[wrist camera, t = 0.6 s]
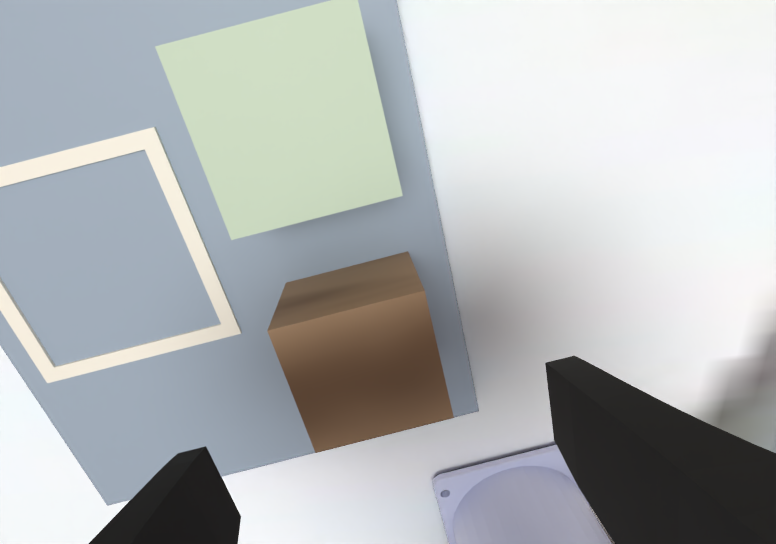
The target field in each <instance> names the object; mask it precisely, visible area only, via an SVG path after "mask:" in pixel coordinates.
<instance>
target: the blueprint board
mask: <svg viewBox="0 0 776 544" xmlns="http://www.w3.org/2000/svg"><path fill="white" fill-rule="evenodd" d="M326 1H330V0H0V346H1V347H2V349H3V350H4V352H5V353H6V355H7V356H8V358H9V359H10V361H11V362H12V364H13V365H14V367H15V368H16V370H17V371H18V373H19V374H20V376H21V377H22V379H23V380H24V381H25V383H26V384H27V386H28V387H29V389H30V390H31V392H32V393H33V395H34V396H35V398H36V399H37V401H38V402H39V404H40V405H41V407H42V408H43V410H44V411H45V413H46V414H47V416H48V417H49V419H50V420H51V422H52V423H53V425H54V426H55V428H56V429H57V431H58V432H59V434H60V435H61V437H62V438H63V440H64V441H65V443H66V444H67V446H68V447H69V449H70V450H71V452H72V453H73V455H74V456H75V458H76V459H77V461H78V462H79V464H80V465H81V467H82V468H83V470H84V471H85V473H86V474H87V476H88V477H89V479H90V480H91V482H92V483H93V485H94V486H95V488H96V489H97V491H98V492H99V494H100V495H101V497H102V498H103V500H104V501H105V503H106V504H107V506H108V505H112V504H116V503H120V502H123V501H127V500H131V499H132V498H133V497H134V496H135V495H136V494H137V493H138V492H139V491H140V490H141V489H142V488H143V487H144V486H145V485H146V484H147V483H148V482H149V481H150V480H151V479H152V478H153V477H154V475H155V474H156V473H157V472H158V471H159V470H160V469H161V468H162V467H164V466H165V465H166V464H167V463H168V462H169V461H170V460H171V459H172V458H173V457H174V456H175V455H176V454H177V453H181V452H185V451H189V450H193V449H197V448H201V447H205V446H206V447H207V449H208V451H209V453H210V455H211V457H212V459H213V461H214V463H215V465H216V467H217V469H218V471H219V473H220V475H221V477H222V476H226V475H229V474H233V473H237V472H241V471H245V470H249V469H253V468H257V467H261V466H265V465H269V464H273V463H277V462H281V461H284V460H288V459H292V458H296V457H300V456H304V455H308V454H312V453H315V451H314V448H313V446H312V443H311V440H310V438H309V435H308V433H307V430H306V428H305V425H304V423H303V420H302V418H301V415H300V413H299V410H298V408H297V405H296V402H295V400H294V397H293V395H292V392H291V390H290V387H289V385H288V382H287V380H286V377H285V375H284V372H283V370H282V367H281V364H280V362H279V359H278V357H277V354H276V352H275V349H274V347H273V344H272V342H271V339H270V337H269V334H268V332H267V330H268V328H269V325H270V323H271V320H272V317H273V315H274V312H275V310H276V307H277V304H278V302H279V299H280V297H281V294H282V291H283V289H284V286H285V284H286V283H287V282H291V281H294V280H298V279H302V278H306V277H310V276H314V275H318V274H322V273H326V272H329V271H333V270H337V269H341V268H345V267H349V266H353V265H357V264H360V263H364V262H368V261H372V260H376V259H380V258H384V257H388V256H391V255H395V254H399V253H403V252H407V251H408V252H409V255H410V257H411V259H412V262H413V264H414V266H415V269H416V271H417V273H418V276H419V278H420V281H421V283H422V285H423V288H424V290H425V294H426V298H427V303H428V307H429V311H430V316H431V320H432V324H433V329H434V333H435V338H436V342H437V346H438V351H439V355H440V359H441V364H442V368H443V372H444V377H445V381H446V385H447V390H448V394H449V398H450V403H451V407H452V411H453V416H454V417H457V416H461V415H465V414H469V413H473V412H477V411H479V409H478V404H477V399H476V394H475V389H474V384H473V379H472V374H471V369H470V364H469V359H468V354H467V349H466V344H465V339H464V334H463V329H462V324H461V319H460V314H459V309H458V304H457V299H456V294H455V289H454V284H453V280H452V275H451V270H450V265H449V260H448V255H447V250H446V245H445V240H444V235H443V230H442V225H441V220H440V215H439V210H438V205H437V200H436V195H435V190H434V185H433V180H432V175H431V170H430V165H429V160H428V155H427V150H426V145H425V141H424V136H423V131H422V126H421V121H420V116H419V111H418V106H417V101H416V96H415V91H414V86H413V81H412V76H411V71H410V66H409V61H408V56H407V51H406V46H405V41H404V36H403V31H402V26H401V21H400V16H399V11H398V6H397V2H396V0H358V3H359V7H360V11H361V16H362V20H363V24H364V29H365V33H366V38H367V42H368V46H369V51H370V55H371V59H372V64H373V68H374V72H375V77H376V81H377V85H378V90H379V94H380V98H381V103H382V107H383V111H384V116H385V120H386V124H387V129H388V133H389V138H390V142H391V146H392V151H393V155H394V159H395V164H396V168H397V172H398V177H399V181H400V185H401V190H402V194H403V196H400V197H397V198H393V199H389V200H385V201H381V202H377V203H373V204H370V205H366V206H362V207H358V208H354V209H350V210H346V211H342V212H339V213H335V214H331V215H327V216H323V217H319V218H315V219H312V220H308V221H304V222H300V223H296V224H292V225H288V226H284V227H281V228H277V229H273V230H269V231H265V232H261V233H257V234H254V235H250V236H246V237H242V238H238V239H234V240H231V238H230V235H229V233H228V230H227V228H226V225H225V223H224V220H223V218H222V215H221V213H220V210H219V207H218V205H217V202H216V200H215V197H214V195H213V192H212V190H211V187H210V185H209V182H208V180H207V177H206V175H205V172H204V169H203V167H202V164H201V162H200V159H199V157H198V154H197V152H196V149H195V147H194V144H193V142H192V139H191V137H190V134H189V132H188V129H187V126H186V124H185V121H184V119H183V116H182V114H181V111H180V109H179V106H178V104H177V101H176V99H175V96H174V94H173V91H172V88H171V86H170V83H169V81H168V78H167V76H166V73H165V71H164V68H163V66H162V63H161V61H160V58H159V56H158V53H157V50H156V48H155V46H159V45H162V44H166V43H170V42H174V41H178V40H181V39H185V38H189V37H193V36H197V35H200V34H204V33H208V32H212V31H216V30H220V29H223V28H227V27H231V26H235V25H239V24H242V23H246V22H250V21H254V20H258V19H261V18H265V17H269V16H273V15H277V14H281V13H284V12H288V11H292V10H296V9H300V8H303V7H307V6H311V5H315V4H319V3H322V2H326Z"/></svg>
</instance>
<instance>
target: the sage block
mask: <svg viewBox="0 0 776 544" xmlns="http://www.w3.org/2000/svg"><path fill="white" fill-rule="evenodd" d="M155 48H156V50H157V53H158V56H159V58H160V61H161V63H162V66H163V68H164V71H165V73H166V76H167V78H168V81H169V83H170V86H171V88H172V91H173V94H174V96H175V99H176V101H177V104H178V106H179V109H180V111H181V114H182V116H183V119H184V121H185V124H186V126H187V129H188V132H189V134H190V137H191V139H192V142H193V144H194V147H195V149H196V152H197V154H198V157H199V159H200V162H201V164H202V167H203V169H204V172H205V175H206V177H207V180H208V182H209V185H210V187H211V190H212V192H213V195H214V197H215V200H216V202H217V205H218V207H219V210H220V213H221V215H222V218H223V220H224V223H225V225H226V228H227V230H228V233H229V235H230V238H231V240H234V239H238V238H242V237H246V236H250V235H254V234H257V233H261V232H265V231H269V230H273V229H277V228H281V227H284V226H288V225H292V224H296V223H300V222H304V221H308V220H312V219H315V218H319V217H323V216H327V215H331V214H335V213H339V212H342V211H346V210H350V209H354V208H358V207H362V206H366V205H370V204H373V203H377V202H381V201H385V200H389V199H393V198H397V197H400V196H403V194H402V190H401V185H400V181H399V177H398V172H397V168H396V164H395V159H394V155H393V151H392V146H391V142H390V138H389V133H388V129H387V124H386V120H385V116H384V111H383V107H382V103H381V98H380V94H379V90H378V85H377V81H376V77H375V72H374V68H373V64H372V59H371V55H370V51H369V46H368V42H367V38H366V33H365V29H364V24H363V20H362V16H361V11H360V7H359V3H358V0H330V1H326V2H322V3H319V4H315V5H311V6H307V7H303V8H300V9H296V10H292V11H288V12H284V13H281V14H277V15H273V16H269V17H265V18H261V19H258V20H254V21H250V22H246V23H242V24H239V25H235V26H231V27H227V28H223V29H220V30H216V31H212V32H208V33H204V34H200V35H197V36H193V37H189V38H185V39H181V40H178V41H174V42H170V43H166V44H162V45H159V46H155Z"/></svg>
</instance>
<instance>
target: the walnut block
mask: <svg viewBox="0 0 776 544" xmlns="http://www.w3.org/2000/svg"><path fill="white" fill-rule="evenodd" d="M267 332H268V334H269V337H270V339H271V342H272V344H273V347H274V349H275V352H276V354H277V357H278V359H279V362H280V364H281V367H282V370H283V372H284V375H285V377H286V380H287V382H288V385H289V387H290V390H291V392H292V395H293V397H294V400H295V402H296V405H297V408H298V410H299V413H300V415H301V418H302V420H303V423H304V425H305V428H306V430H307V433H308V435H309V438H310V440H311V443H312V446H313V448H314V451H315V453H317V452H321V451H325V450H329V449H333V448H337V447H341V446H345V445H349V444H353V443H357V442H360V441H364V440H368V439H372V438H376V437H380V436H384V435H388V434H392V433H396V432H400V431H404V430H408V429H412V428H415V427H419V426H423V425H427V424H431V423H435V422H439V421H443V420H447V419H451V418H454V416H453V411H452V407H451V403H450V398H449V394H448V390H447V385H446V381H445V377H444V372H443V368H442V364H441V359H440V355H439V351H438V346H437V342H436V338H435V333H434V329H433V324H432V320H431V316H430V311H429V307H428V303H427V298H426V294H425V290H424V288H423V285H422V283H421V281H420V278H419V276H418V273H417V271H416V269H415V266H414V264H413V262H412V259H411V257H410V255H409V252H408V251H407V252H403V253H399V254H395V255H391V256H388V257H384V258H380V259H376V260H372V261H368V262H364V263H360V264H357V265H353V266H349V267H345V268H341V269H337V270H333V271H329V272H326V273H322V274H318V275H314V276H310V277H306V278H302V279H298V280H294V281H291V282H287V283H286V284H285V286H284V289H283V291H282V294H281V297H280V299H279V302H278V304H277V307H276V310H275V312H274V315H273V317H272V320H271V323H270V325H269V328H268V330H267Z"/></svg>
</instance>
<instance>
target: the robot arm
mask: <svg viewBox="0 0 776 544" xmlns="http://www.w3.org/2000/svg"><path fill="white" fill-rule="evenodd" d="M545 364H546V372H547V381H548V390H549V398H550V407H551V416H552V424H553V433H554V440H555V442H556V444H557V445H553V446H549V447H545V448H541V449H537V450H533V451H529V452H525V453H522V454H518V455H514V456H510V457H506V458H502V459H498V460H494V461H490V462H486V463H482V464H478V465H474V466H470V467H466V468H462V469H458V470H455V471H451V472H447V473H443V474H439V475H437V476H436V477H435V478H434V479H433V487H434V491H435V494H436V498H437V502H438V505H439V509H440V513H441V516H442V520H443V524H444V527H445V531H446V535H447V538H448V542H449V544H612V543H611V541H610V540H609V538H608V537H607V535H606V533H605V532H604V530H603V528H602V527H601V525H600V523H599V522H598V520H597V518H596V517H595V515H594V514H593V512H592V510H591V509H590V506H591V507H592V509H593V510H594V512H595V513H596V515H597V516H598V518H599V520H600V521H601V523H602V524H603V526H604V527H605V529H606V530H607V532H608V533H609V535H610V536H611V538H612V539H613V541H614V542H615V544H776V453H773V452H771V451H769V450H766V449H764V448H761V447H759V446H757V445H754V444H752V443H750V442H748V441H745V440H743V439H741V438H739V437H737V436H734V435H732V434H730V433H728V432H725V431H723V430H721V429H719V428H716V427H714V426H712V425H710V424H708V423H706V422H703V421H701V420H699V419H697V418H695V417H693V416H691V415H689V414H687V413H685V412H682V411H680V410H678V409H676V408H674V407H672V406H670V405H668V404H666V403H664V402H662V401H660V400H658V399H656V398H654V397H652V396H650V395H649V394H647V393H645V392H643V391H641V390H639V389H637V388H635V387H633V386H631V385H629V384H627V383H626V382H624V381H622V380H620V379H618V378H616V377H614V376H612V375H610V374H609V373H607V372H605V371H603V370H601V369H599V368H597V367H595V366H593V365H592V364H590V363H588V362H586V361H584V360H582V359H580V358H578V357H576V356H572V357H568V358H564V359H559V360H555V361H551V362H547V363H545ZM443 490H446V491H443ZM240 519H241V516H240V514H239V512H238V510H237V508H236V506H235V504H234V502H233V500H232V498H231V496H230V494H229V492H228V490H227V488H226V486H225V484H224V481H223V479H222V477H221V475H220V473H219V471H218V469H217V467H216V465H215V463H214V461H213V459H212V457H211V455H210V453H209V451H208V449H207V447H206V446H205V447H201V448H197V449H193V450H189V451H185V452H181V453H177V454H176V455H175V456H174V457H173V458H172V459H171V460H170V461H169V462H168V463H167V464H166V465H165V466H164V467H162V468H161V469H160V470H159V471H158V472H157V473H156V474H155V475H154V477H153V478H152V479H151V480H150V481H149V482H148V483H147V484H146V485H145V486H144V487H143V488H142V489H141V490H140V491H139V492H138V493H137V494H136V495H135V496H134V497H133V498H132V499H131V500H130V501H129V502H128V503H127V505H126V506H125V507H124V508H123V509H122V510H121V511H120V512H119V513H118V514H117V515H116V516H115V517H114V518H113V519H112V520H111V521H110V522H109V523H108V524H107V525H106V526H105V527H104V528H103V529H102V530H101V532H100V533H99V534H98V535H97V536H96V537H95V538H94V539H93V540H92V541H91V542H90V543H89V544H237V543H238V535H239V527H240Z"/></svg>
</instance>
